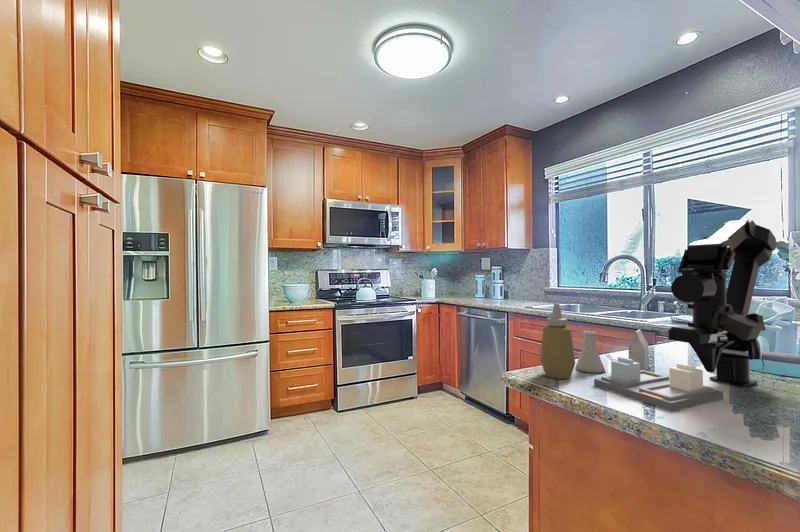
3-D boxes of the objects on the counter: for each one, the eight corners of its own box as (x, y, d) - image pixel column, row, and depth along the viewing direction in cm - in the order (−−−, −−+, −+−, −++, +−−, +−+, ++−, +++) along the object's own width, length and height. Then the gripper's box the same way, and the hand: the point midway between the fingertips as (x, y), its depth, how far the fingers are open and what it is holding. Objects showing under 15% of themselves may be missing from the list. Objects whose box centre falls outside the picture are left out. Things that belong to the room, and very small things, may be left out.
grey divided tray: (642, 377, 92) (642, 368, 92) (723, 399, 77) (723, 388, 77) (594, 385, 86) (594, 376, 86) (671, 411, 71) (671, 399, 71)
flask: (598, 366, 103) (598, 329, 103) (610, 374, 95) (610, 334, 96) (571, 366, 103) (570, 329, 103) (581, 373, 96) (580, 334, 96)
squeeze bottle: (533, 375, 95) (532, 303, 95) (552, 370, 100) (551, 301, 100) (564, 383, 88) (563, 306, 89) (582, 376, 93) (581, 304, 93)
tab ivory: (682, 384, 81) (681, 361, 81) (703, 389, 77) (702, 366, 77) (669, 386, 80) (669, 363, 80) (690, 392, 76) (690, 368, 76)
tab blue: (623, 376, 87) (623, 355, 87) (640, 381, 83) (640, 359, 84) (611, 378, 86) (611, 357, 86) (627, 383, 82) (627, 361, 82)
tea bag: (648, 366, 102) (648, 329, 102) (645, 372, 97) (644, 333, 97) (632, 364, 104) (632, 328, 104) (628, 369, 99) (628, 331, 99)
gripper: (726, 305, 71) (727, 388, 71) (781, 300, 77) (783, 376, 77) (665, 300, 81) (666, 373, 81) (719, 296, 88) (720, 364, 88)
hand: (710, 372), depth 81 cm, fingers closed
